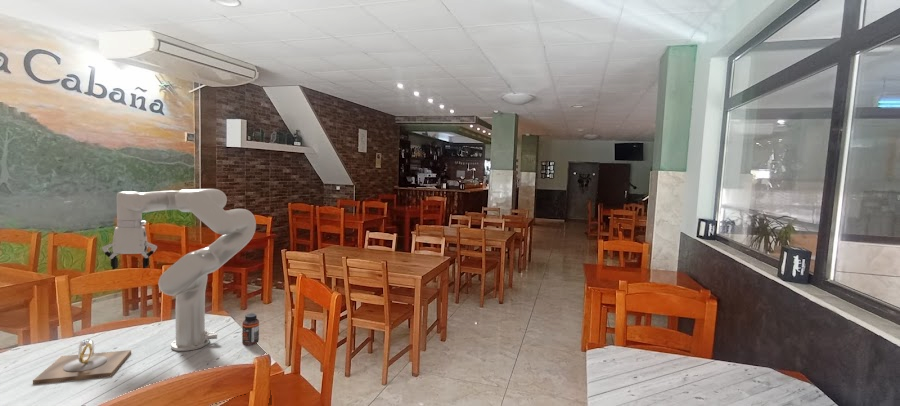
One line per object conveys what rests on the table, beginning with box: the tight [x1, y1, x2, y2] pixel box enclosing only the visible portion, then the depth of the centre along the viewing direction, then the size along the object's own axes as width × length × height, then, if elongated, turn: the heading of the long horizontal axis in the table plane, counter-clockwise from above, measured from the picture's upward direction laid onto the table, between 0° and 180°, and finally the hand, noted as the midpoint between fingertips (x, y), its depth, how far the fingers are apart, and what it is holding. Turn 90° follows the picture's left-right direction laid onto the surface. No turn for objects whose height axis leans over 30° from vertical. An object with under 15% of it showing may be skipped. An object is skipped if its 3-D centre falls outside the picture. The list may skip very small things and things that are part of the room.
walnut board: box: [32, 349, 132, 385], centre depth 141 cm, size 20×17×2 cm
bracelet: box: [77, 338, 95, 364], centre depth 140 cm, size 7×3×8 cm, turn 10°
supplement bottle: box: [241, 312, 260, 346], centre depth 165 cm, size 6×6×11 cm
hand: (130, 268), depth 161 cm, fingers open, 9 cm apart
